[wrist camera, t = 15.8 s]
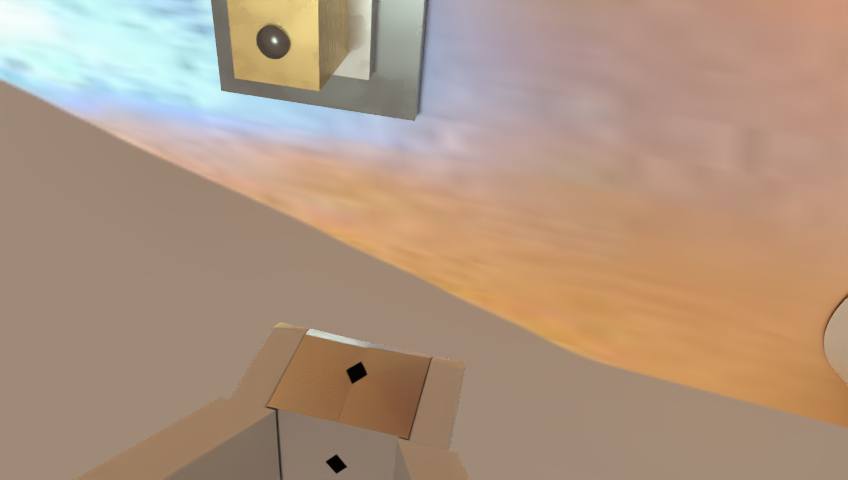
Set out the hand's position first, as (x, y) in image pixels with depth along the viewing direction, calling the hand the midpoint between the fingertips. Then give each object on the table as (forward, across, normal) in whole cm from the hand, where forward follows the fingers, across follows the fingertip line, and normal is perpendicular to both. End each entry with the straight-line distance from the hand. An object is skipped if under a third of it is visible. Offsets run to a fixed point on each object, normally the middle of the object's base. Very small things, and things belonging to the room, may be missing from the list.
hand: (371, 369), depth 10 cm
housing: (+32, -13, -4) cm, 34 cm away
